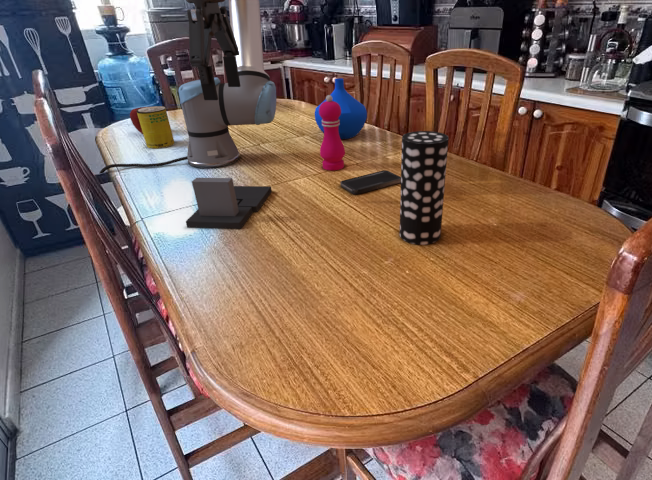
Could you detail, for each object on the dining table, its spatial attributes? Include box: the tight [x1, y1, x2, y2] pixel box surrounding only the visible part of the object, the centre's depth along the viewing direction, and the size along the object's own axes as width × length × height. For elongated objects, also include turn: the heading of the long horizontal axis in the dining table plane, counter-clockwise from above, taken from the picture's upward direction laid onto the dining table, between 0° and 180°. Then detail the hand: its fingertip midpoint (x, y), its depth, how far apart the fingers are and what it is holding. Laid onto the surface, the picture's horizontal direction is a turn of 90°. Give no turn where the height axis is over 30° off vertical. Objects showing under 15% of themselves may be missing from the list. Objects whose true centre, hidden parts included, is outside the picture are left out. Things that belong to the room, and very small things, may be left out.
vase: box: [314, 77, 368, 140], centre depth 145 cm, size 18×18×19 cm
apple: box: [129, 106, 146, 135], centre depth 155 cm, size 10×10×10 cm
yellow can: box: [136, 105, 175, 150], centre depth 142 cm, size 9×9×12 cm
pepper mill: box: [319, 94, 346, 172], centre depth 116 cm, size 7×7×20 cm
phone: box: [339, 169, 401, 195], centre depth 109 cm, size 8×1×15 cm
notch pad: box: [234, 185, 273, 213], centre depth 101 cm, size 14×12×2 cm
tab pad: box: [185, 177, 254, 230], centre depth 92 cm, size 12×12×10 cm
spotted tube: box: [399, 130, 450, 246], centre depth 80 cm, size 8×8×20 cm
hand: (223, 93), depth 93 cm, fingers open, 13 cm apart
